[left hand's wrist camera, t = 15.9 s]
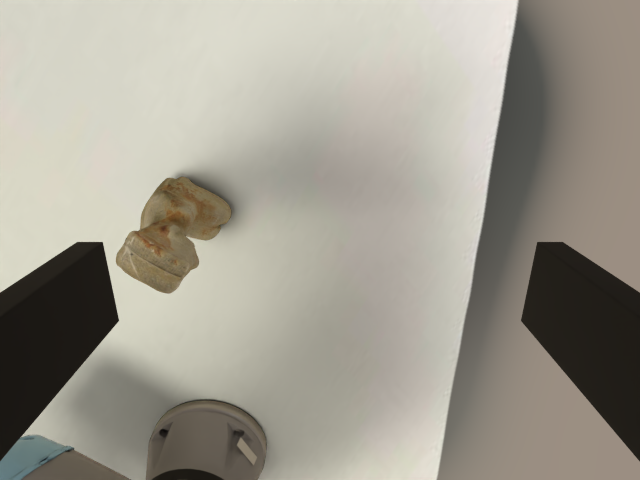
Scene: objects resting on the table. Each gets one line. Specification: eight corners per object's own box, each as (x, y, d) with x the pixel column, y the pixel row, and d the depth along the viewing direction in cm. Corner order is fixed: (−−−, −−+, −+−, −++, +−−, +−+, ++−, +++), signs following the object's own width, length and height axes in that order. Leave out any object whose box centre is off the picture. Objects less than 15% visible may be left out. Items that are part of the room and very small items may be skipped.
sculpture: (210, 242, 45) (160, 315, 31) (153, 201, 43) (73, 259, 29) (241, 203, 43) (204, 262, 29) (184, 159, 41) (115, 198, 27)
